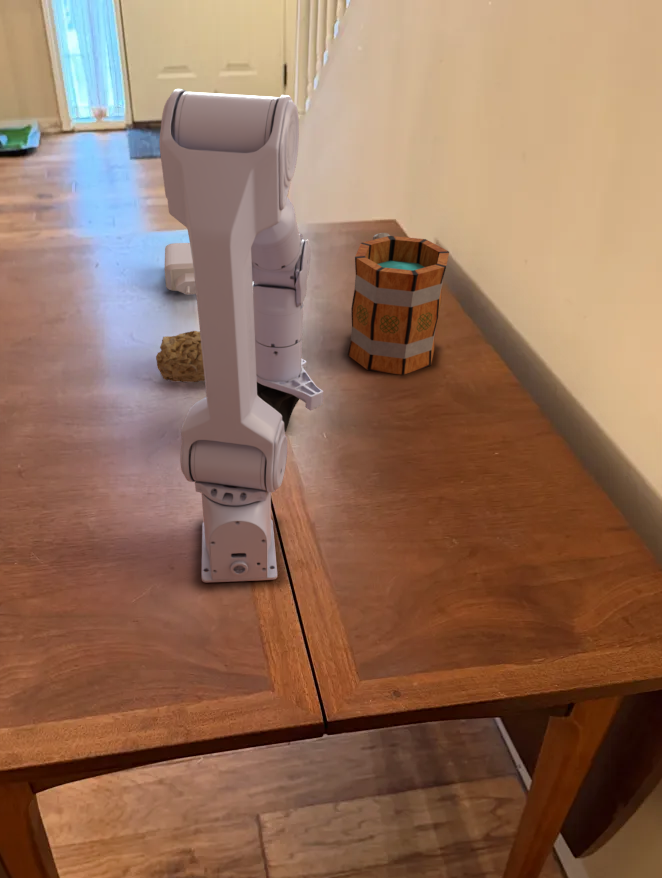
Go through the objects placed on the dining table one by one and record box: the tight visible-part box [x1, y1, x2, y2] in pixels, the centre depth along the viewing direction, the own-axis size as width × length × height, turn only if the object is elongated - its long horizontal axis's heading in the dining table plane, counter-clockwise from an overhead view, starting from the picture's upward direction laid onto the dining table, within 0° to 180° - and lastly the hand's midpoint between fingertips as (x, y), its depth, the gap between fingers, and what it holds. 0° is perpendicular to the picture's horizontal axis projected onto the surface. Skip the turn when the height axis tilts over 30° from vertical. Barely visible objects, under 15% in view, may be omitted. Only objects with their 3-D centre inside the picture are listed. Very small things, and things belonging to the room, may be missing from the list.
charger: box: [163, 242, 196, 296], centre depth 132 cm, size 5×9×15 cm
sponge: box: [155, 330, 205, 383], centre depth 111 cm, size 13×8×20 cm
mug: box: [347, 232, 450, 376], centre depth 115 cm, size 20×14×15 cm
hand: (277, 431), depth 100 cm, fingers closed
